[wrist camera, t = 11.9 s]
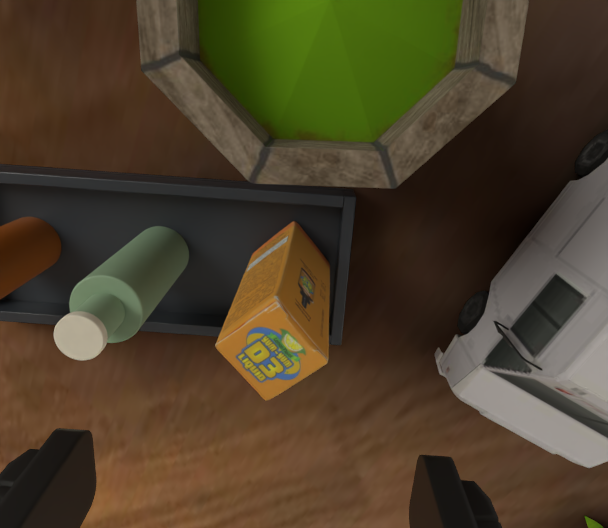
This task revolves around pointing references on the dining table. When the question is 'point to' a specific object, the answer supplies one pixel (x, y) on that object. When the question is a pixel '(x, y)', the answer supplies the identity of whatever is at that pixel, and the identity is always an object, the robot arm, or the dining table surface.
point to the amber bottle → (26, 251)
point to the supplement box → (280, 314)
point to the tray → (181, 218)
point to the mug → (331, 79)
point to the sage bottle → (121, 293)
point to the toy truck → (546, 326)
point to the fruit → (592, 523)
